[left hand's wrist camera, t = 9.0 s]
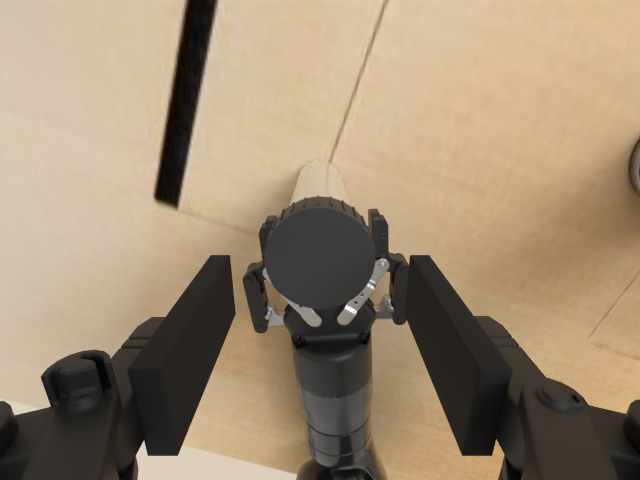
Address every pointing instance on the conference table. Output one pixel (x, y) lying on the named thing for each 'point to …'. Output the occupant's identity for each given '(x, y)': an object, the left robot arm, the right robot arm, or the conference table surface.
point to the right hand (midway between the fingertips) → (321, 214)
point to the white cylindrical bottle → (320, 182)
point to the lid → (319, 253)
